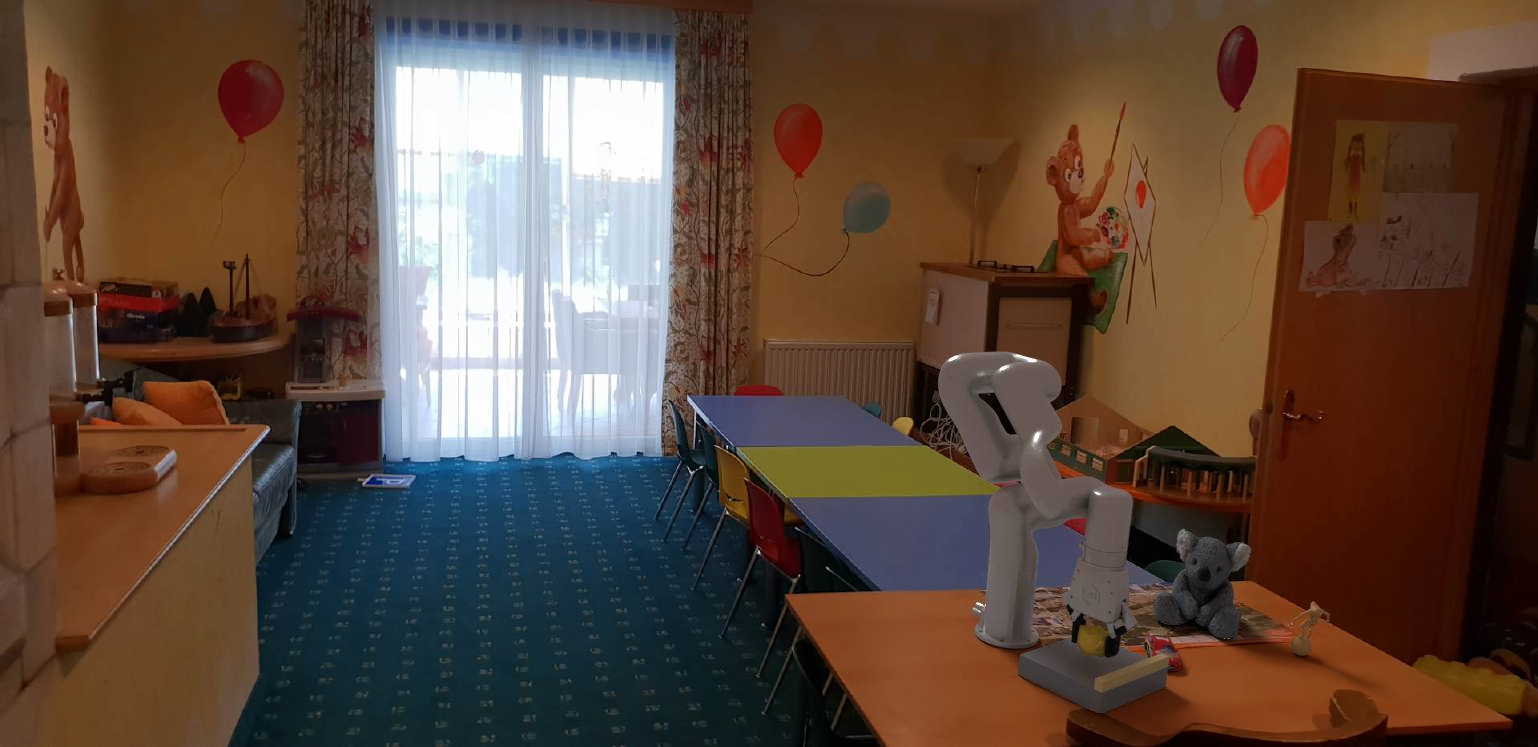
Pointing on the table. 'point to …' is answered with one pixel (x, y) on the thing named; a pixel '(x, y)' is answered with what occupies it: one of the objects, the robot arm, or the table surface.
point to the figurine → (1302, 642)
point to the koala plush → (1204, 585)
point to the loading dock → (1094, 674)
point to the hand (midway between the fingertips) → (1094, 647)
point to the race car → (1162, 649)
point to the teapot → (1092, 640)
